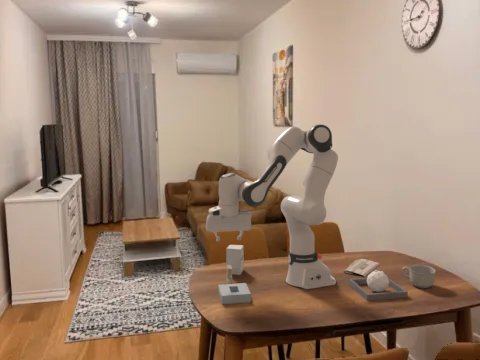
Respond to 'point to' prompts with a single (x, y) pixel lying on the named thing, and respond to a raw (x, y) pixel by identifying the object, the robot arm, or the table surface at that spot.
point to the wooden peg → (228, 274)
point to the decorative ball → (377, 281)
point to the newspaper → (362, 267)
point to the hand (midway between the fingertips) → (228, 240)
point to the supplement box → (235, 258)
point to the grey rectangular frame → (378, 296)
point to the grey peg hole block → (234, 293)
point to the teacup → (420, 275)
